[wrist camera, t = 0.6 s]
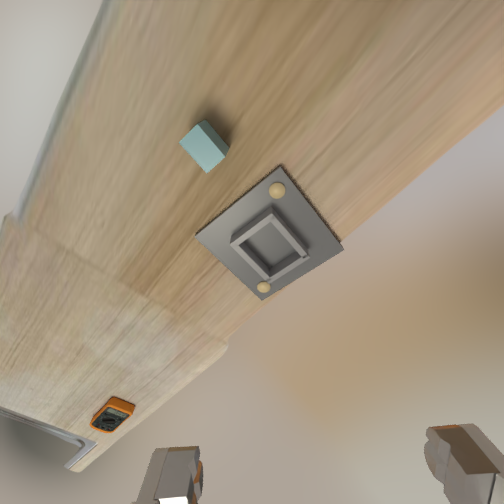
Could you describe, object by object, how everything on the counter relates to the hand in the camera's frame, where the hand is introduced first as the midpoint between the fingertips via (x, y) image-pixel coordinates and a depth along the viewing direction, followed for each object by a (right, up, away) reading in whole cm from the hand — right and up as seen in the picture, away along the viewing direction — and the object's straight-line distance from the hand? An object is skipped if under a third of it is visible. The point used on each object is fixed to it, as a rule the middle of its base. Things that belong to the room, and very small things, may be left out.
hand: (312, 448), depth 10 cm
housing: (+2, +9, +48) cm, 48 cm away
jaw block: (-10, +26, +38) cm, 47 cm away
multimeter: (-50, -47, +84) cm, 108 cm away
